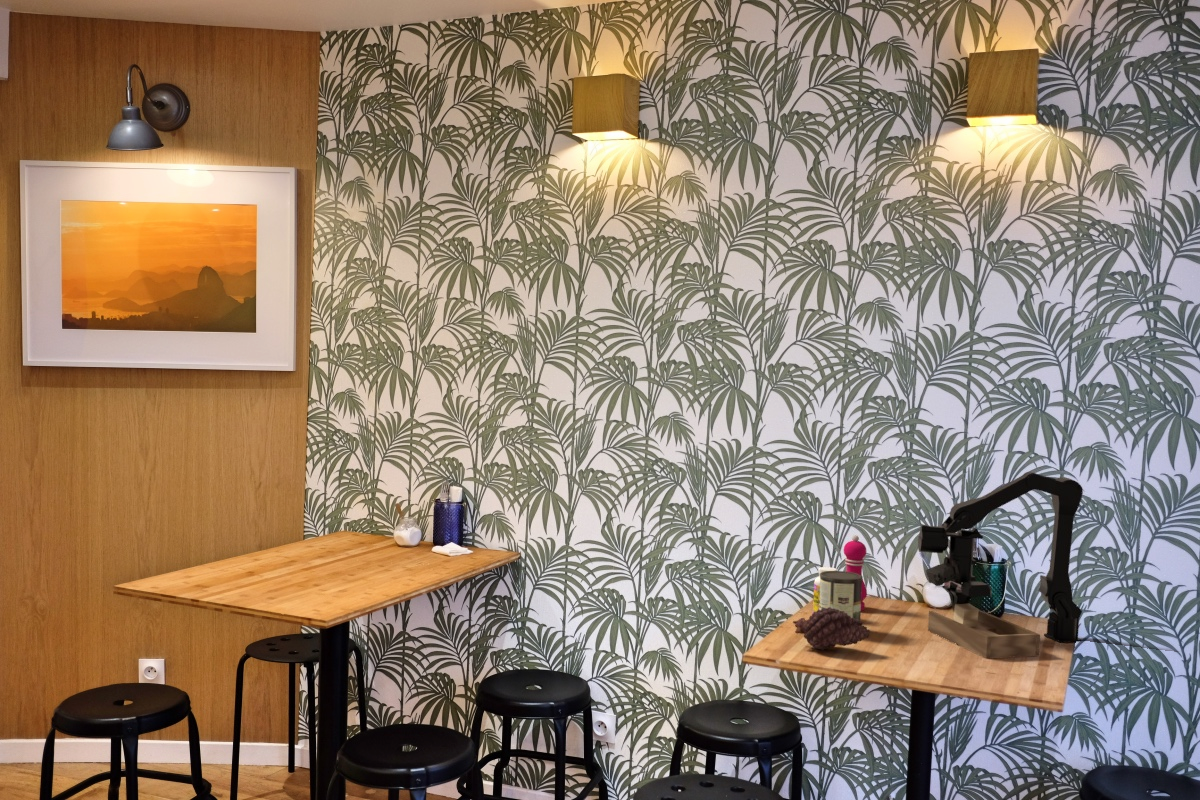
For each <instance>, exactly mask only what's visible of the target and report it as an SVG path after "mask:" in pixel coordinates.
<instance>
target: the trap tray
mask: <svg viewBox="0 0 1200 800" xmlns="http://www.w3.org/2000/svg"><path fill="white" fill-rule="evenodd" d="M927 624H928V625H927V632H929V631H930V632H929V633H932V632H933V633H932V634H934V635H936V634H937V635H936V636H938V635H939V636H938V637H940V636H941V637H940V638H942V637H943V638H942V639H944V638H945V640H946V639H947V641H948V640H949V642H951V643H953V644H955V643H956V644H955V645H957V644H958V645H957V646H959V647H961V648H963V649H966V650H968V651H970V652H972V653H974V654H976V655H977V656H978V655H979V656H981V657H982V658H984V657H985V658H984V659H1000V658H999V657H1001V658H1002V657H1005V658H1021V657H1039V656H1040V645H1041V643H1040V642H1041V641H1040V639H1041V634H1039V633H1037V632H1035V631H1032V630H1030V629H1028V628H1026V627H1023V626H1020V625H1018V624H1016V623H1013V622H1010V621H1007V620H1006V619H1003V618H1000V617H998V616H995V615H994V614H991V613H988V612H985V611H984V610H981V609H979V612H978V620H977V627H968V626H966V625H963V624H961V623H959V622H957V621H954V620H953V619H951V618H950V617H947V616H946V615H943V614H940V613H938V612H935V611H934V610H928V623H927ZM1002 659H1003V658H1002Z"/></svg>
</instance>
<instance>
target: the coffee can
mask: <svg viewBox="0 0 1200 800" xmlns="http://www.w3.org/2000/svg"><path fill="white" fill-rule="evenodd" d="M862 578H863V575H862V576H861V575H859V574H857V573H852V572H847V571H846V570H845V571H842V570H837V571H825V572H821V573H820V603H819V610H821V609H822V608H828V607H830V608H832V609H838V610H839V611H844V612H845V613H847V614H848V615H849V616H850V617H851V618H856V619H857V620H860V621H861V612H862V611H861V590H862Z"/></svg>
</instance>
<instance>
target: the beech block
mask: <svg viewBox="0 0 1200 800" xmlns="http://www.w3.org/2000/svg"><path fill="white" fill-rule="evenodd" d="M979 610H980V609H979V608H977V607H975V606H973V605H972V604H971V603H967V604H955V610H953V619H952V620H954V621H957V622H959V623H961V624H963V625H966V626H968V627H977V620H978V612H979Z"/></svg>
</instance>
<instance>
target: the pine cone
mask: <svg viewBox="0 0 1200 800" xmlns="http://www.w3.org/2000/svg"><path fill="white" fill-rule="evenodd" d="M792 623H793V624H794V626H795V628H796V629H795V631H794V633H795V634H796V635H797V634H799V635H803V638H804V639H805V640H806V642H807V643H808V644H809V645H810V646H812V648H814V649H819V650H820V651H822V652H823V651H824V650H825V649H826V650H827V649H828V648H835V646H836V645H837V646H838V645H839V646H842V647H843V646H844V647H845V646H849V645H850V646H851V645H857V644H858V643H859V642H862V641H863V640H865V639H869V638H870V636H871V635H870V634H871V632H870V631H871V630H870V629H868V627H867V626H865V625H863V622H862V621H861V619H860V620H857V619H856V618H851V617H850V616H849V615H848V614H847V613H845V612H844V611H839V610H838V609H832V608H830V607H828V608H822V609H821V610H818V611H817V612H814V613H813V612H812V615H810V616H809V618H808V619H806V618H805V617H801V618H799V619H798V620H794V621H792Z"/></svg>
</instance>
